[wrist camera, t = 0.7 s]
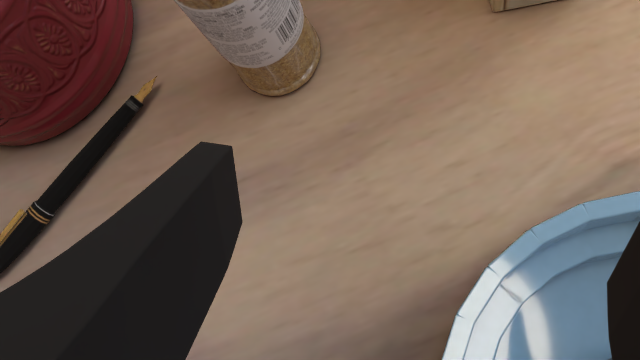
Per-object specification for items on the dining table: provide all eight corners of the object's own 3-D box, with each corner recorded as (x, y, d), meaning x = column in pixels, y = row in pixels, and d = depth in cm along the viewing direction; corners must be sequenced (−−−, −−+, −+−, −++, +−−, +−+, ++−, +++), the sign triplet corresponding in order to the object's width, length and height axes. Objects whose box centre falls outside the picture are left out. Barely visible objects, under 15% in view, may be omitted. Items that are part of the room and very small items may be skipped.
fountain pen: (157, 74, 32) (142, 62, 31) (171, 86, 32) (157, 74, 30) (-21, 282, 31) (-44, 279, 30) (-9, 296, 31) (-32, 294, 30)
